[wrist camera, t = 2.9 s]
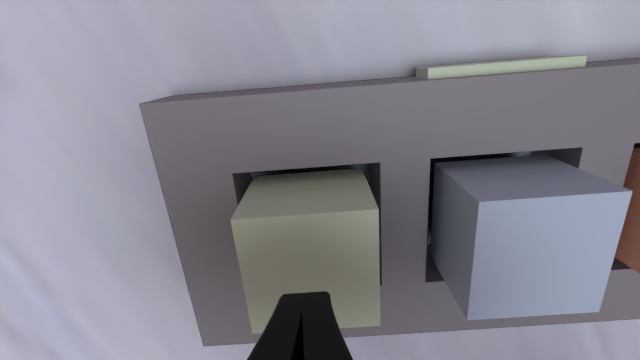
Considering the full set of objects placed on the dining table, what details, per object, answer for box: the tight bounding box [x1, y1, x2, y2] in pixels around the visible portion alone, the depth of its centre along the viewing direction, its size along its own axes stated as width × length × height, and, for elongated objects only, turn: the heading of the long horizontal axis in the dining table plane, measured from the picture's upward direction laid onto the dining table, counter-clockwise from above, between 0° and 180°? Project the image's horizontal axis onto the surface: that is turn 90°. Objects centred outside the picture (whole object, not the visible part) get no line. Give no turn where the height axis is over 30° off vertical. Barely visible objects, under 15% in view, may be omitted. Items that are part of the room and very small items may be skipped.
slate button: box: [430, 155, 633, 320], centre depth 13 cm, size 5×5×4 cm
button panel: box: [139, 56, 640, 346], centre depth 15 cm, size 12×28×3 cm, turn 94°
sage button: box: [230, 168, 380, 334], centre depth 13 cm, size 5×5×4 cm
